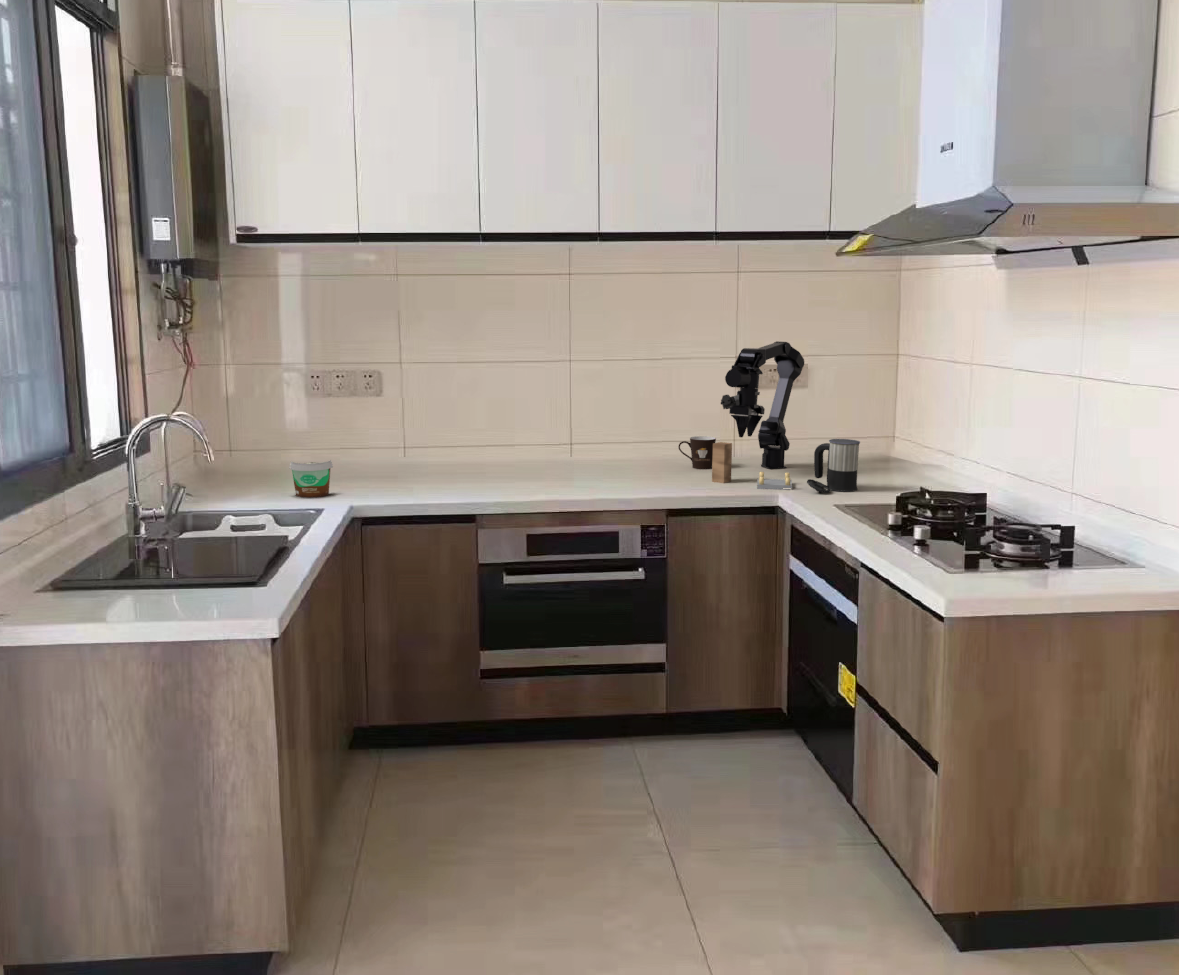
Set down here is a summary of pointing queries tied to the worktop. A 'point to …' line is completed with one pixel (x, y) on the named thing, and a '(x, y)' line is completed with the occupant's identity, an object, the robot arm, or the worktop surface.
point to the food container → (311, 478)
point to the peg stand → (774, 482)
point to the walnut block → (721, 462)
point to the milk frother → (837, 466)
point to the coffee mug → (701, 451)
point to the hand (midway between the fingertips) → (745, 436)
